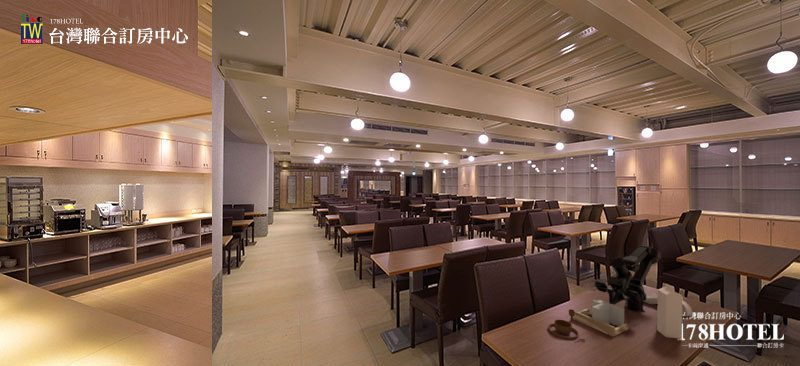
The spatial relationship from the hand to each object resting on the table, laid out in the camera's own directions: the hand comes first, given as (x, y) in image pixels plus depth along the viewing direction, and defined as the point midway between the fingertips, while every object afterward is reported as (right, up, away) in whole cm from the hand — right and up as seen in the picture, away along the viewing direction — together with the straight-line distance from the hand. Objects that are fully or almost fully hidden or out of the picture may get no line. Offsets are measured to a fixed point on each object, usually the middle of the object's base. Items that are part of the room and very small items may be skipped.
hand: (610, 305), depth 141 cm
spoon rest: (+40, -7, +15) cm, 43 cm away
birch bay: (-8, -7, -4) cm, 12 cm away
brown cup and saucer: (-27, -8, -11) cm, 30 cm away
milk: (+16, -7, -14) cm, 22 cm away
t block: (-6, -7, -3) cm, 9 cm away
